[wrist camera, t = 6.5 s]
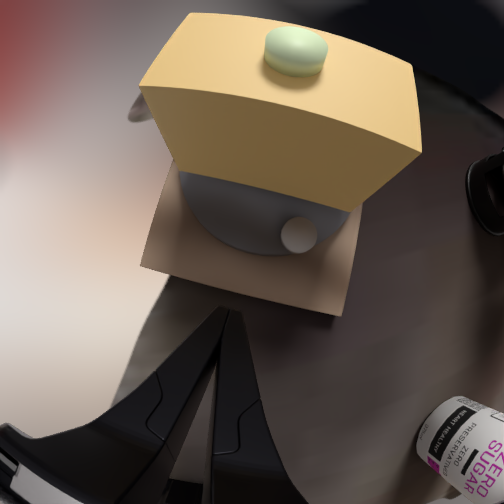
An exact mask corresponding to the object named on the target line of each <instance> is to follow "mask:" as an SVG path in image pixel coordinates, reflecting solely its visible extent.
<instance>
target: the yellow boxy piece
mask: <svg viewBox="0 0 504 504" xmlns="http://www.w3.org/2000/svg"><path fill="white" fill-rule="evenodd" d="M139 87H140V90H141V92H142V94H143V96H144V98H145V101H146V103H147V105H148V107H149V109H150V111H151V113H152V115H153V118H154V120H155V122H156V124H157V126H158V128H159V130H160V132H161V134H162V136H163V138H164V140H165V142H166V145H167V147H168V149H169V151H170V153H171V155H172V157H173V159H174V161H175V163H176V165H177V167H178V169H179V171H184V172H189V173H194V174H199V175H204V176H209V177H214V178H218V179H223V180H227V181H232V182H236V183H241V184H245V185H249V186H253V187H258V188H262V189H266V190H270V191H274V192H278V193H282V194H286V195H290V196H293V197H297V198H301V199H305V200H308V201H312V202H315V203H319V204H323V205H326V206H330V207H333V208H336V209H340V210H343V211H347V212H351V211H353V210H354V209H355V208H356V207H357V206H359V205H360V204H361V203H362V202H364V201H365V200H366V199H367V198H368V197H370V196H371V195H372V194H373V193H375V192H376V191H377V190H378V189H379V188H381V187H382V186H383V185H384V184H385V183H387V182H388V181H389V180H390V179H391V178H393V177H394V176H395V175H396V174H397V173H399V172H400V171H401V170H402V169H403V168H405V167H406V166H407V165H408V164H409V163H410V162H412V161H413V160H414V159H415V158H416V157H417V156H419V155H420V154H421V153H422V146H421V131H420V119H419V110H418V101H417V94H416V87H415V81H414V75H413V69H412V65H411V64H409V63H407V62H405V61H403V60H400V59H398V58H396V57H394V56H391V55H389V54H387V53H384V52H381V51H379V50H377V49H374V48H372V47H369V46H367V45H364V44H361V43H358V42H355V41H352V40H350V39H346V38H343V37H340V36H337V35H333V34H330V33H327V32H323V31H319V30H316V29H311V28H307V27H303V26H299V25H294V24H290V23H285V22H280V21H274V20H268V19H261V18H255V17H247V16H238V15H227V14H211V13H189V15H188V16H187V17H186V18H185V20H184V21H183V22H182V23H181V25H180V26H179V27H178V29H177V30H176V31H175V33H174V34H173V35H172V36H171V38H170V39H169V41H168V42H167V43H166V45H165V46H164V47H163V49H162V50H161V52H160V53H159V54H158V56H157V57H156V59H155V61H154V62H153V63H152V65H151V66H150V68H149V69H148V71H147V73H146V74H145V76H144V77H143V79H142V81H141V82H140V84H139Z"/></svg>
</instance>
